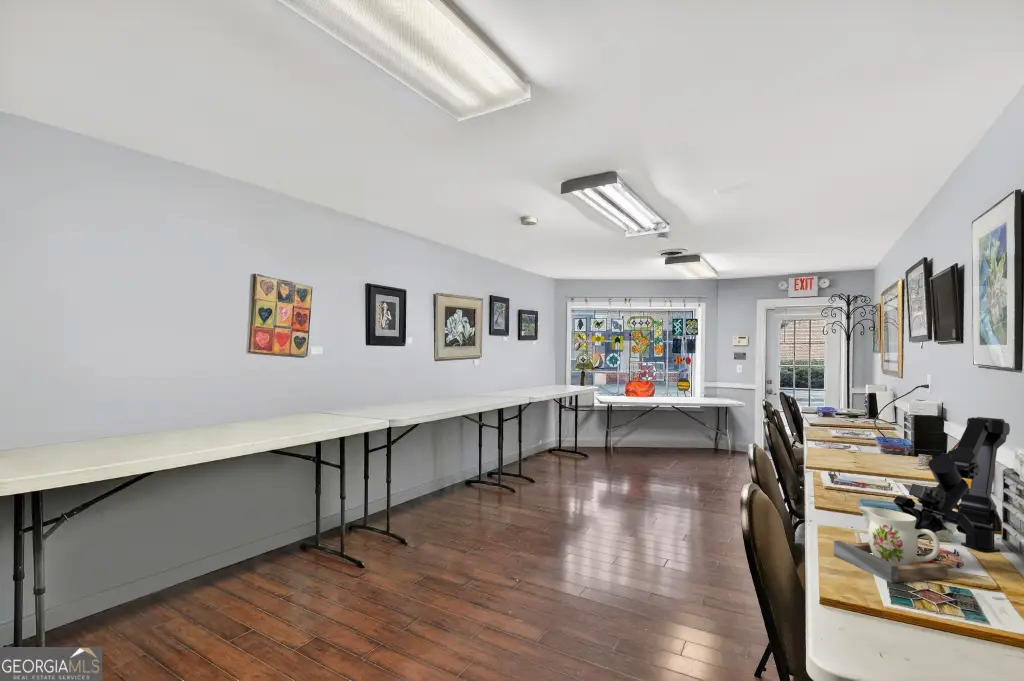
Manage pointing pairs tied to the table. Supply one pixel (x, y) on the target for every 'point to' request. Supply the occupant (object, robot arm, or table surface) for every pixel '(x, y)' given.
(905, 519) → the pitcher
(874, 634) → the table surface
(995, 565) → the table surface
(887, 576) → the dock
